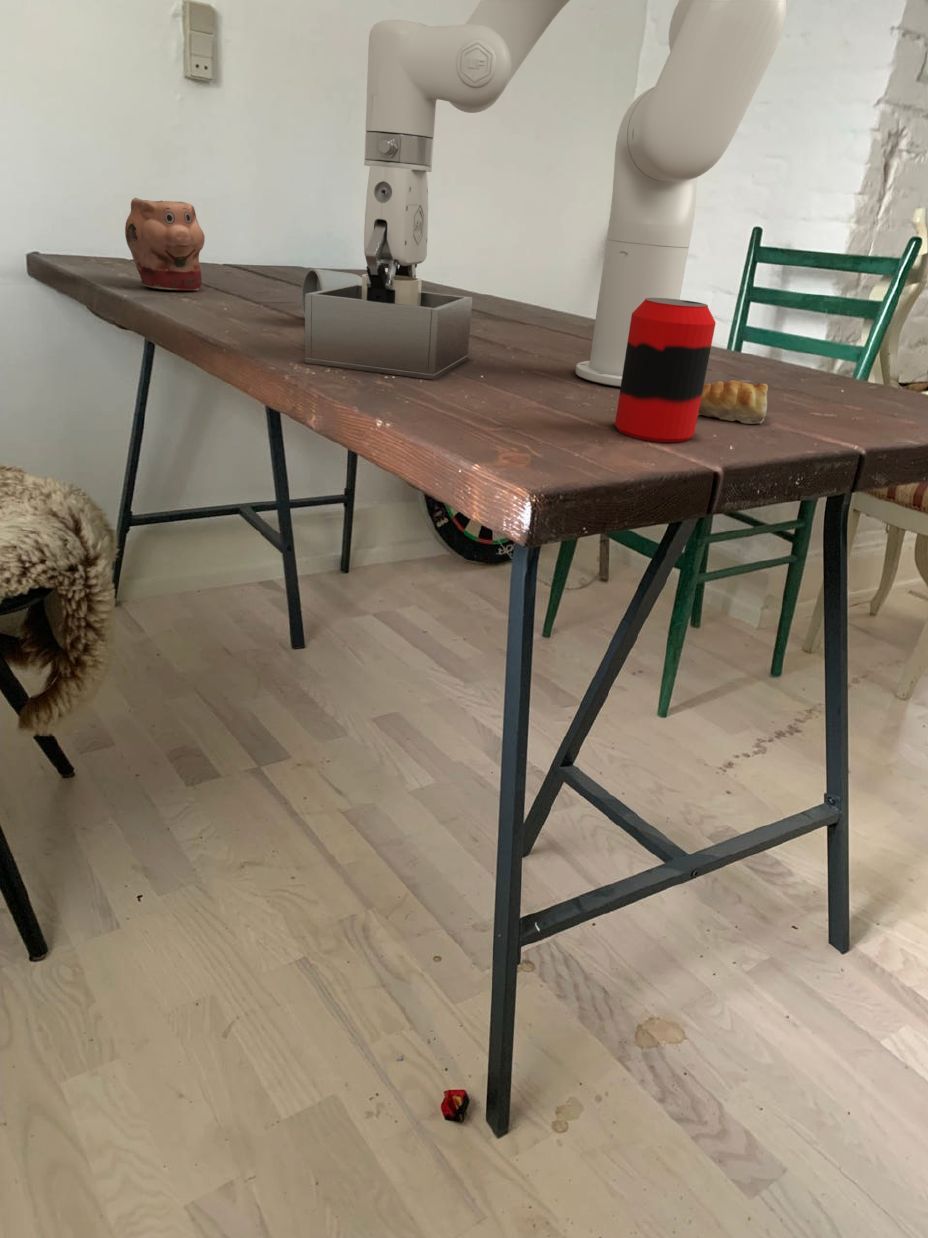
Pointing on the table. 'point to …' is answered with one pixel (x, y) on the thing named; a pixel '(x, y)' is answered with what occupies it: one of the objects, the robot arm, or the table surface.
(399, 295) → the cup
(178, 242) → the decorative planter
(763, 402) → the pastry
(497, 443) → the table surface
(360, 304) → the grey open box
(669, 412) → the soda can
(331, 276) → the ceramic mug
